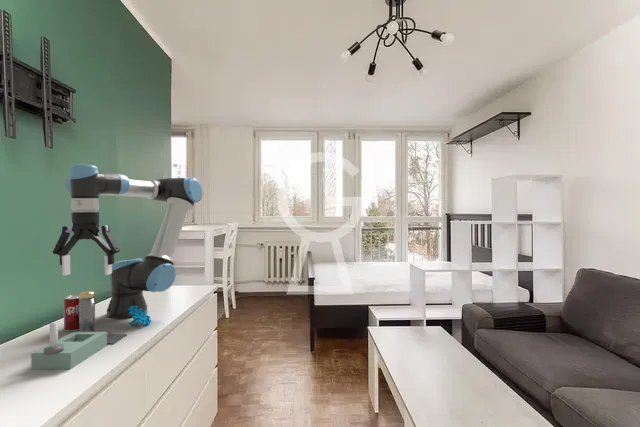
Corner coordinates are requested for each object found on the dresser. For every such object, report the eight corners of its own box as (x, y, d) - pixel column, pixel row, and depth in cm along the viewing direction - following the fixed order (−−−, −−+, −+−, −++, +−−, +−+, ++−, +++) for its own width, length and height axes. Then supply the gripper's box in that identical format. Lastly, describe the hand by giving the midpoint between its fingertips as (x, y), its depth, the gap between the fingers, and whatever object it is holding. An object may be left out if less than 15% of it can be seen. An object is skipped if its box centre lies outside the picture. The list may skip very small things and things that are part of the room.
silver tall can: (85, 336, 117) (85, 290, 116) (97, 336, 117) (97, 290, 116) (76, 341, 112) (76, 294, 112) (89, 341, 112) (89, 294, 112)
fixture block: (73, 345, 108) (73, 307, 108) (107, 345, 108) (106, 307, 108) (27, 371, 91) (27, 326, 91) (67, 371, 91) (67, 325, 91)
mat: (104, 335, 117) (104, 334, 117) (127, 335, 118) (127, 334, 118) (89, 344, 109) (89, 343, 109) (113, 344, 110) (113, 343, 110)
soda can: (91, 327, 125) (91, 295, 125) (69, 333, 119) (69, 300, 119) (82, 323, 129) (82, 293, 129) (60, 329, 123) (60, 297, 123)
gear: (144, 325, 123) (126, 306, 123) (132, 337, 122) (114, 317, 123) (157, 319, 134) (140, 302, 134) (146, 330, 133) (129, 312, 134)
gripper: (37, 212, 106) (40, 277, 107) (117, 211, 107) (119, 276, 108) (55, 211, 113) (57, 272, 114) (129, 210, 115) (131, 271, 115)
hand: (87, 274), depth 111 cm, fingers open, 13 cm apart
